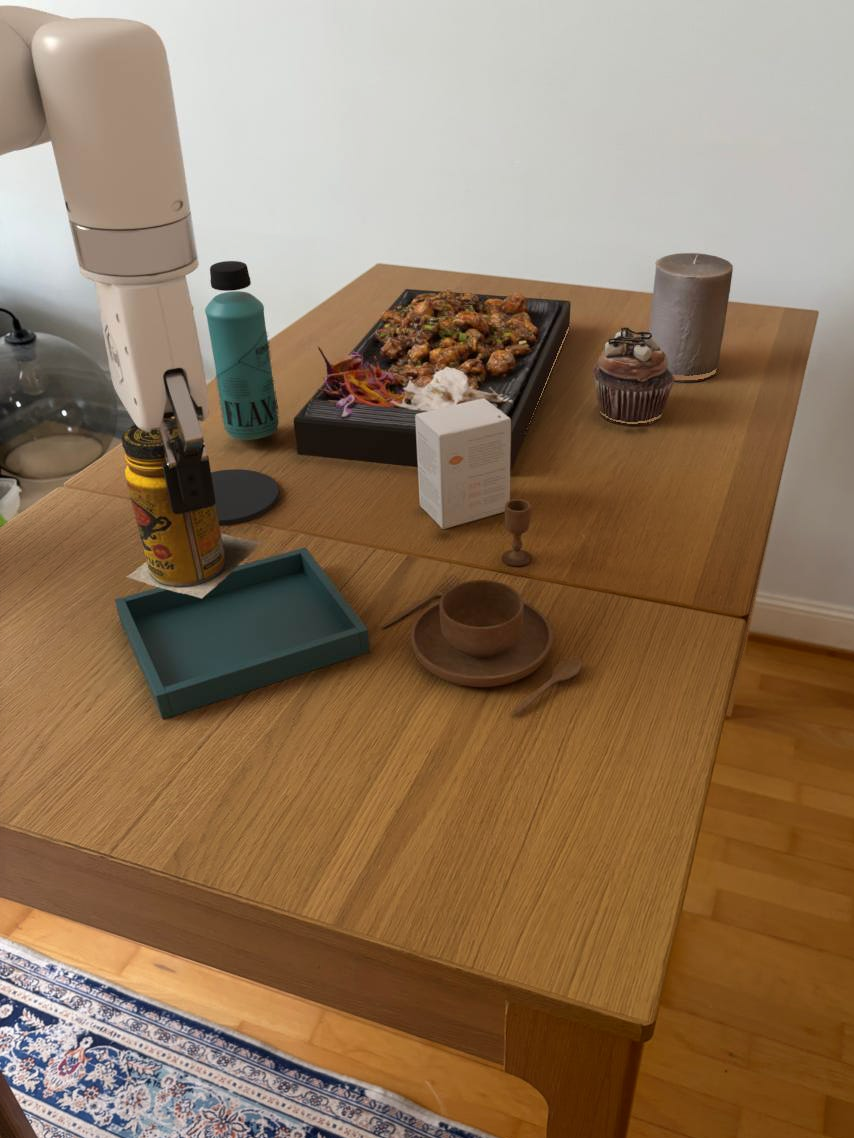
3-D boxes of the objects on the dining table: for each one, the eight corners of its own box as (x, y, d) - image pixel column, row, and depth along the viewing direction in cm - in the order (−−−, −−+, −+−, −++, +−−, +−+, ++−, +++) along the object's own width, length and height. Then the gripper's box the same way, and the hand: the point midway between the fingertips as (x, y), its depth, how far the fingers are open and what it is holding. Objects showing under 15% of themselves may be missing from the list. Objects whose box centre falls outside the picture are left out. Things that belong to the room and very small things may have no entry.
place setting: (358, 636, 84) (352, 580, 81) (510, 545, 96) (512, 492, 92) (510, 731, 75) (512, 671, 71) (659, 617, 87) (667, 561, 83)
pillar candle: (715, 356, 134) (732, 243, 125) (719, 385, 127) (738, 267, 118) (644, 353, 136) (656, 240, 126) (643, 381, 128) (656, 263, 119)
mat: (189, 535, 97) (188, 530, 97) (161, 488, 105) (160, 483, 105) (294, 509, 102) (293, 504, 101) (260, 465, 109) (259, 460, 109)
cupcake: (664, 433, 116) (674, 351, 109) (583, 424, 118) (589, 342, 112) (674, 401, 123) (684, 322, 117) (598, 392, 125) (604, 314, 119)
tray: (162, 719, 76) (156, 696, 75) (120, 621, 86) (113, 599, 85) (370, 652, 83) (368, 629, 81) (308, 568, 93) (305, 546, 91)
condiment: (125, 579, 77) (88, 441, 70) (191, 526, 83) (163, 395, 76) (202, 601, 75) (172, 461, 68) (263, 545, 81) (242, 412, 74)
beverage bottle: (221, 453, 112) (189, 274, 99) (231, 427, 117) (202, 255, 105) (278, 452, 112) (254, 274, 100) (285, 426, 117) (263, 254, 105)
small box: (485, 488, 105) (485, 396, 99) (510, 511, 101) (513, 417, 95) (417, 506, 102) (413, 412, 96) (441, 531, 98) (439, 434, 92)
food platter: (508, 476, 107) (510, 387, 101) (297, 453, 111) (286, 367, 105) (569, 331, 142) (573, 258, 136) (406, 318, 146) (402, 247, 140)
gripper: (51, 216, 68) (106, 451, 79) (105, 292, 56) (161, 555, 67) (159, 205, 71) (198, 433, 82) (233, 275, 59) (266, 530, 70)
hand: (181, 486), depth 75 cm, fingers closed on condiment, 6 cm apart
